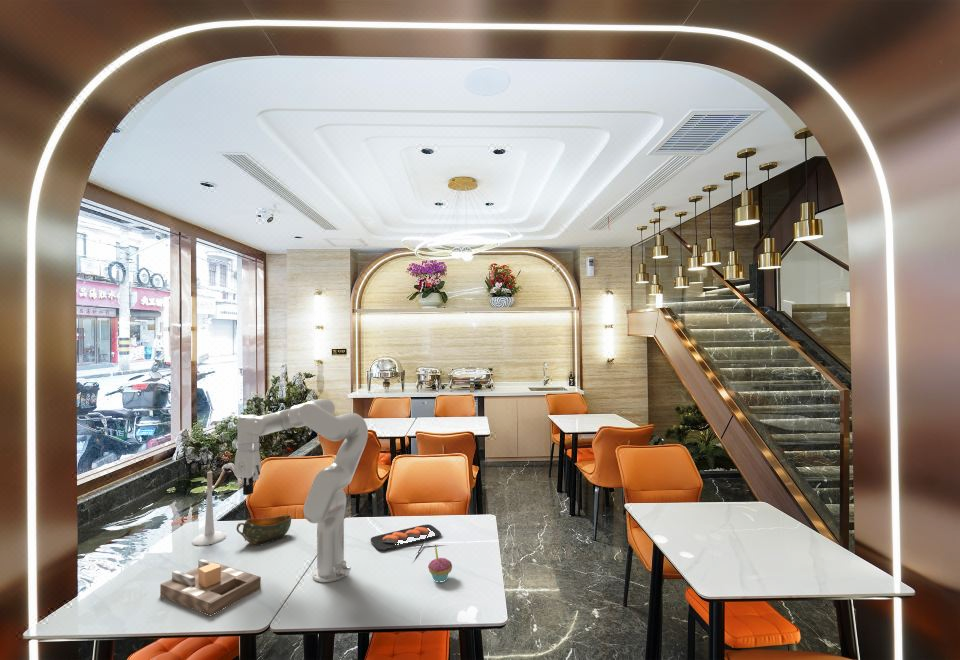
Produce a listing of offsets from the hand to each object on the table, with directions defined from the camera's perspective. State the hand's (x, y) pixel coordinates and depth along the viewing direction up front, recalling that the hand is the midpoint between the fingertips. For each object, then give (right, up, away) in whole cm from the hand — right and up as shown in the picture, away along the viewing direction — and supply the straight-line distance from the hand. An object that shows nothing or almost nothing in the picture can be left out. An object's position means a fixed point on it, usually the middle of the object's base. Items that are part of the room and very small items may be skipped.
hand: (248, 493), depth 178 cm
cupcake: (+76, -26, -14) cm, 82 cm away
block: (-2, -23, -22) cm, 31 cm away
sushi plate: (+62, -28, +14) cm, 70 cm away
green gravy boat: (-3, -28, +21) cm, 35 cm away
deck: (-2, -27, -21) cm, 34 cm away
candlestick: (-28, -28, +22) cm, 46 cm away
